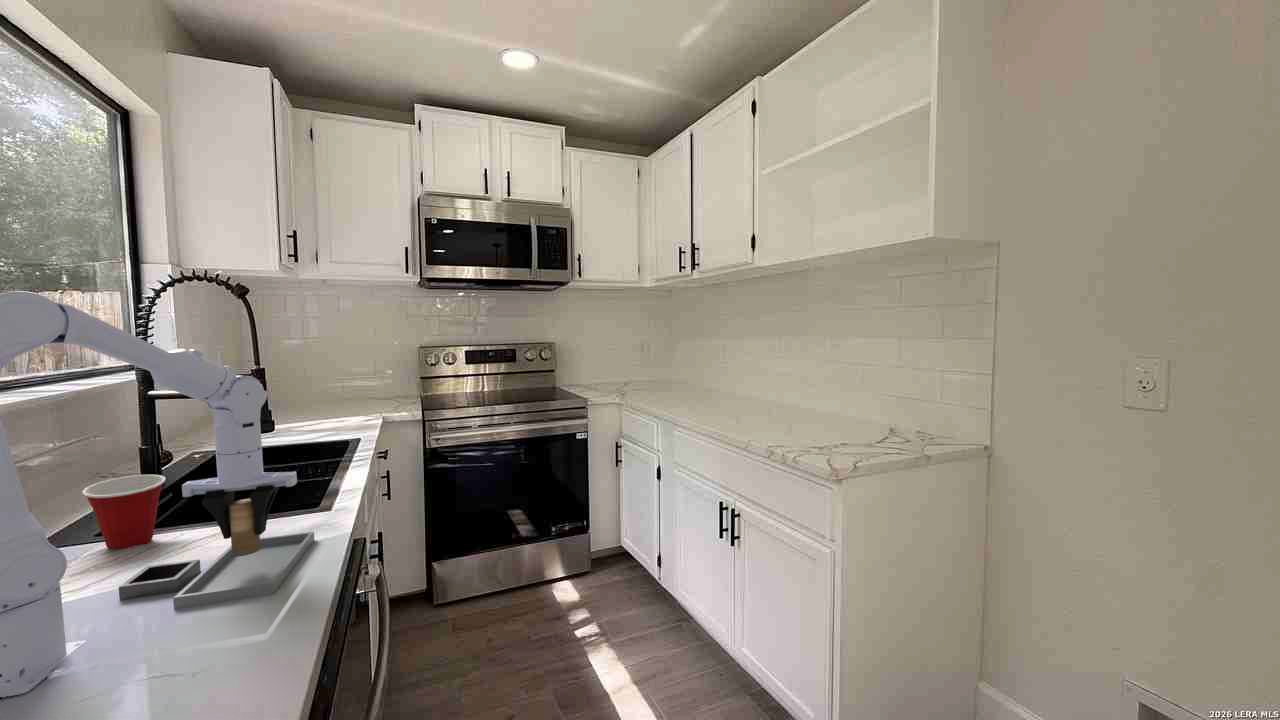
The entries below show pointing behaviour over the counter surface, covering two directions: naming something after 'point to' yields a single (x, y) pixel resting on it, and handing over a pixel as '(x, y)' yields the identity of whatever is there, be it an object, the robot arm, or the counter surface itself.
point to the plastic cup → (126, 509)
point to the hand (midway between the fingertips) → (245, 534)
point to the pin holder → (159, 580)
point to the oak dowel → (243, 528)
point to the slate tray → (246, 572)
